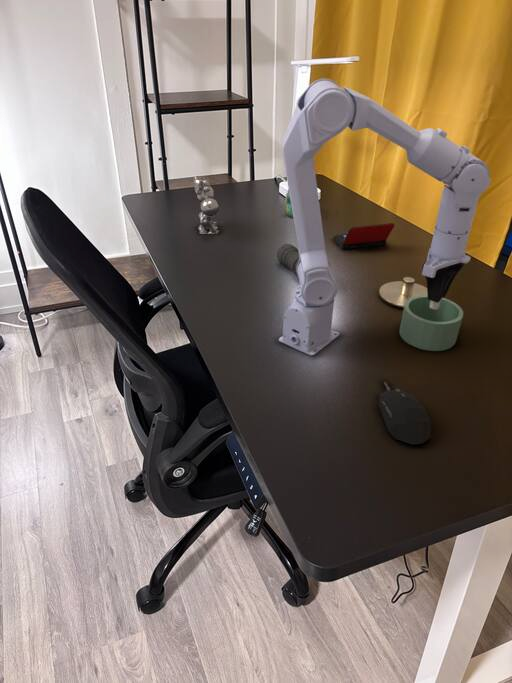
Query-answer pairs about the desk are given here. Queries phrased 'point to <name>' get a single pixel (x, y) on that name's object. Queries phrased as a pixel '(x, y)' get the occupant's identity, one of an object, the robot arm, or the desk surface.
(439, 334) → the canister
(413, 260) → the desk surface
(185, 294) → the desk surface
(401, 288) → the canister lid
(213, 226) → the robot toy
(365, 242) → the handheld console
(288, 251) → the flashlight
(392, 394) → the gaming mouse
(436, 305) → the marker
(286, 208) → the green jar
